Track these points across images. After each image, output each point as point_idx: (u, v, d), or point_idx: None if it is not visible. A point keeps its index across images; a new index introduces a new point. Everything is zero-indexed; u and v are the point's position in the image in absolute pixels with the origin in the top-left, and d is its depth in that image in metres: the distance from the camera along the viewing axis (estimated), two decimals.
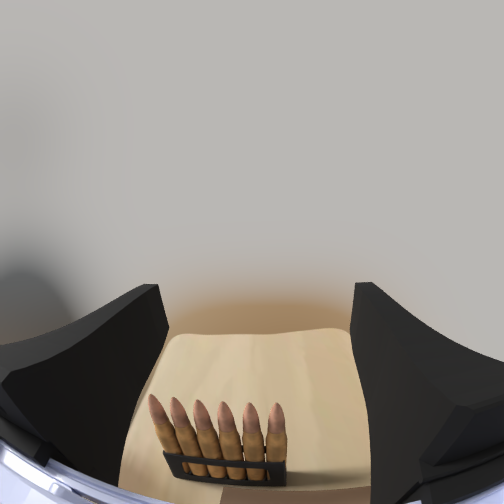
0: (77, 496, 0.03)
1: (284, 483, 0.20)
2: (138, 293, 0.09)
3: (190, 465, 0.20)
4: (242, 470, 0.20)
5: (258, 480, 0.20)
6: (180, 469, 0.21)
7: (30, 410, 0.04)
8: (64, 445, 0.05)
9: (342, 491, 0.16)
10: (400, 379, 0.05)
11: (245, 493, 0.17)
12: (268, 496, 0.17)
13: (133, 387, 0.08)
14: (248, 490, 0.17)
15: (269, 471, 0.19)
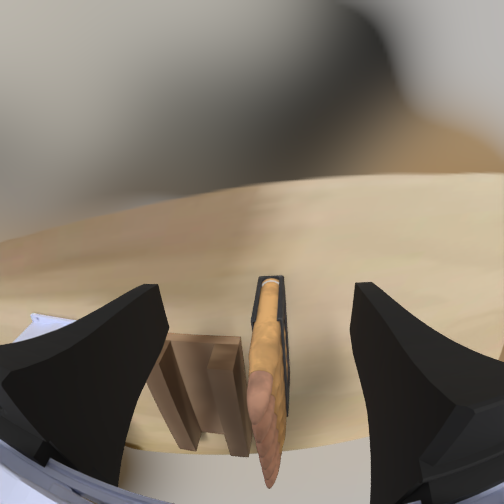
0: (77, 496, 0.03)
1: None
2: (138, 293, 0.09)
3: None
4: None
5: None
6: None
7: (30, 410, 0.04)
8: (64, 445, 0.05)
9: (241, 432, 0.24)
10: (400, 379, 0.05)
11: (229, 385, 0.21)
12: (230, 398, 0.22)
13: (133, 387, 0.08)
14: (234, 387, 0.21)
15: None
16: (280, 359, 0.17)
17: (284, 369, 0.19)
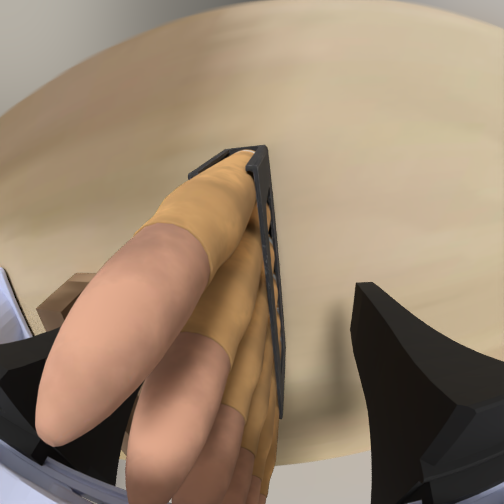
0: (77, 496, 0.03)
1: None
2: None
3: None
4: None
5: None
6: None
7: (27, 409, 0.04)
8: None
9: None
10: (401, 379, 0.05)
11: None
12: None
13: None
14: None
15: None
16: (255, 265, 0.07)
17: (270, 310, 0.09)
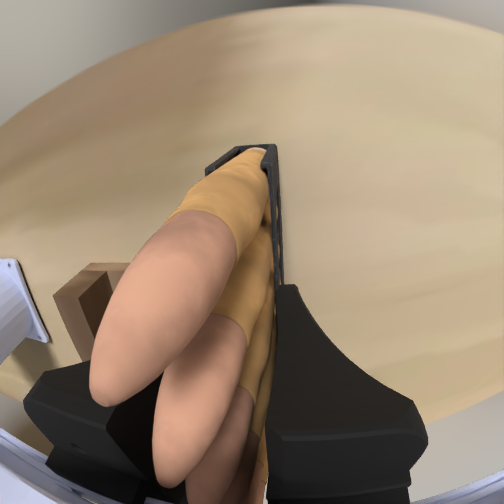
0: (77, 496, 0.03)
1: None
2: None
3: None
4: None
5: None
6: None
7: (134, 449, 0.04)
8: None
9: None
10: None
11: None
12: None
13: None
14: None
15: None
16: (267, 256, 0.07)
17: None
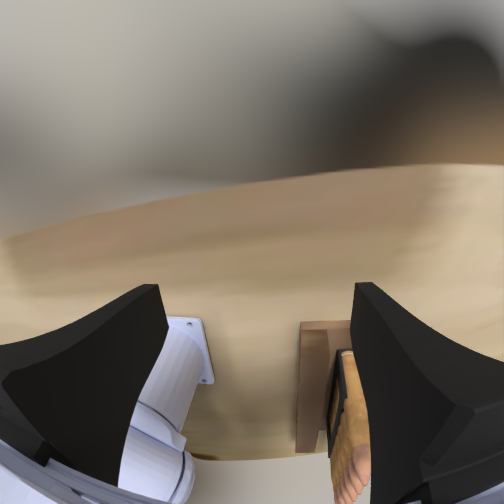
0: (77, 496, 0.03)
1: None
2: (138, 293, 0.09)
3: None
4: None
5: (329, 416, 0.25)
6: (338, 376, 0.21)
7: (30, 410, 0.04)
8: (64, 445, 0.05)
9: None
10: (400, 379, 0.05)
11: None
12: None
13: (133, 387, 0.08)
14: None
15: (329, 439, 0.23)
16: None
17: None
